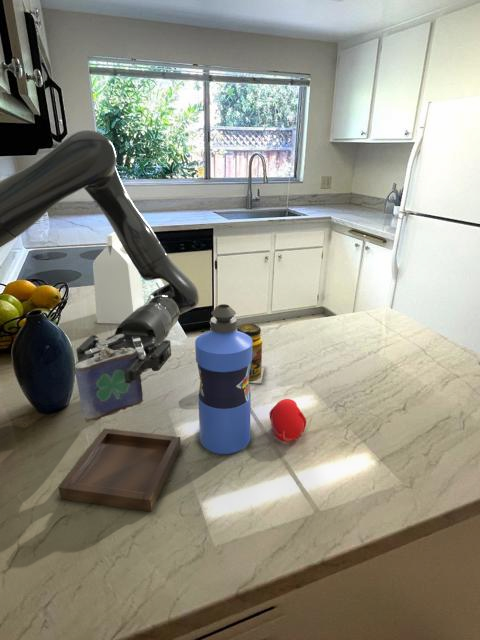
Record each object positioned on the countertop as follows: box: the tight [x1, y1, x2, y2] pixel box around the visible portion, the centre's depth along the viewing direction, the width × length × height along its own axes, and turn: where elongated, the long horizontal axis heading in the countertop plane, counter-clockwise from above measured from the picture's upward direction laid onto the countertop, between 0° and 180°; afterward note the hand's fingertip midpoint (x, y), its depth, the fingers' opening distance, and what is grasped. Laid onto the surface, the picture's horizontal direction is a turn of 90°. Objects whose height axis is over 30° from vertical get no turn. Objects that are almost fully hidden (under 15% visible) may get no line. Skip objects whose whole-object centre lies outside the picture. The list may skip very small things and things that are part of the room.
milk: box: [92, 231, 145, 325], centre depth 123 cm, size 12×12×26 cm
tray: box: [58, 427, 182, 513], centre depth 64 cm, size 14×14×2 cm
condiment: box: [236, 323, 265, 384], centre depth 91 cm, size 7×8×12 cm
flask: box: [73, 343, 144, 423], centre depth 59 cm, size 9×3×11 cm, turn 127°
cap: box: [269, 398, 307, 443], centre depth 72 cm, size 8×6×6 cm
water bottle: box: [194, 304, 252, 455], centre depth 68 cm, size 9×9×25 cm
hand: (102, 375), depth 57 cm, fingers closed on flask, 7 cm apart
